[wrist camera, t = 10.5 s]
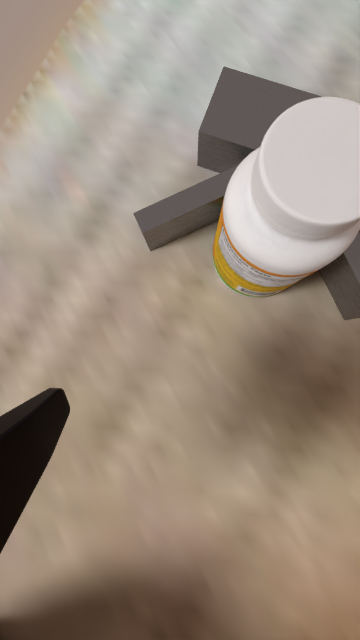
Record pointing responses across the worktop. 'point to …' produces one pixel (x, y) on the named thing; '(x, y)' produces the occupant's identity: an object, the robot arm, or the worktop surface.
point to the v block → (224, 157)
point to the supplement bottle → (292, 199)
